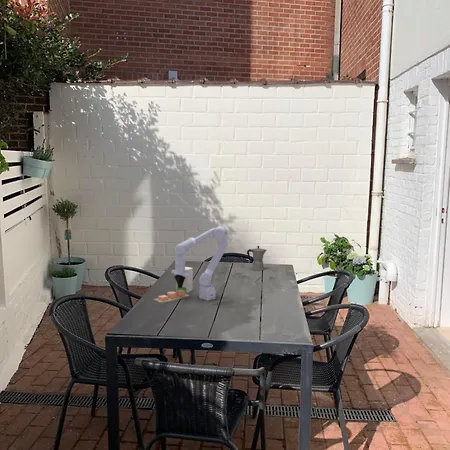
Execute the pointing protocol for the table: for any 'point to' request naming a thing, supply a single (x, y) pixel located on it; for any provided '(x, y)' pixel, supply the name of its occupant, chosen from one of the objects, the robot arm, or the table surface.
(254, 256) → the coffeepot
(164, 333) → the table surface
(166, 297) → the tile three
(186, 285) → the skincare box
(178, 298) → the board
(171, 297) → the tile two
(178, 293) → the tile one
